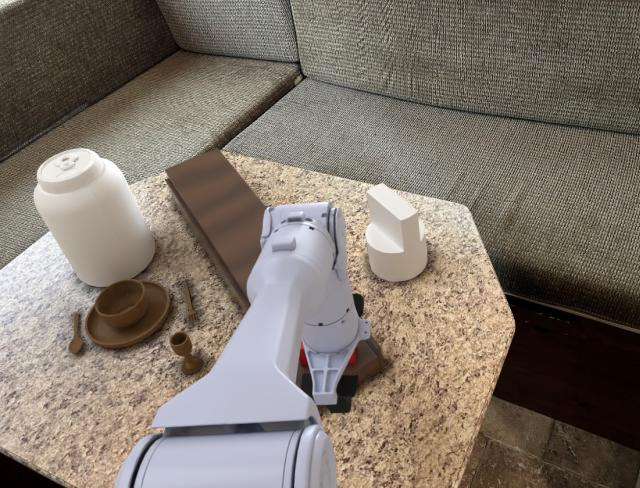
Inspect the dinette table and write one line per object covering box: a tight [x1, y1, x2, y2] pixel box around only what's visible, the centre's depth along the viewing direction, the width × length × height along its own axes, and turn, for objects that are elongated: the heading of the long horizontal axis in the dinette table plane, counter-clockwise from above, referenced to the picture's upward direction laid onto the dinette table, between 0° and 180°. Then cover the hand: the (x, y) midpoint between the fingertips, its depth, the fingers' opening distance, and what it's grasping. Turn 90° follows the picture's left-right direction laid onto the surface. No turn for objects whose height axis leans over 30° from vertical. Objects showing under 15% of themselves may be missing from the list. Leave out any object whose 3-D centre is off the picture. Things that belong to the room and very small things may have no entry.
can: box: [32, 147, 156, 288], centre depth 93 cm, size 12×12×20 cm
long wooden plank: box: [164, 147, 385, 411], centre depth 93 cm, size 54×11×6 cm, turn 34°
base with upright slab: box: [364, 182, 428, 283], centre depth 90 cm, size 9×9×12 cm
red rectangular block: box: [299, 339, 357, 366], centre depth 77 cm, size 7×3×4 cm, turn 89°
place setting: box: [67, 278, 204, 375], centre depth 85 cm, size 18×20×6 cm
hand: (343, 377), depth 67 cm, fingers open, 7 cm apart
